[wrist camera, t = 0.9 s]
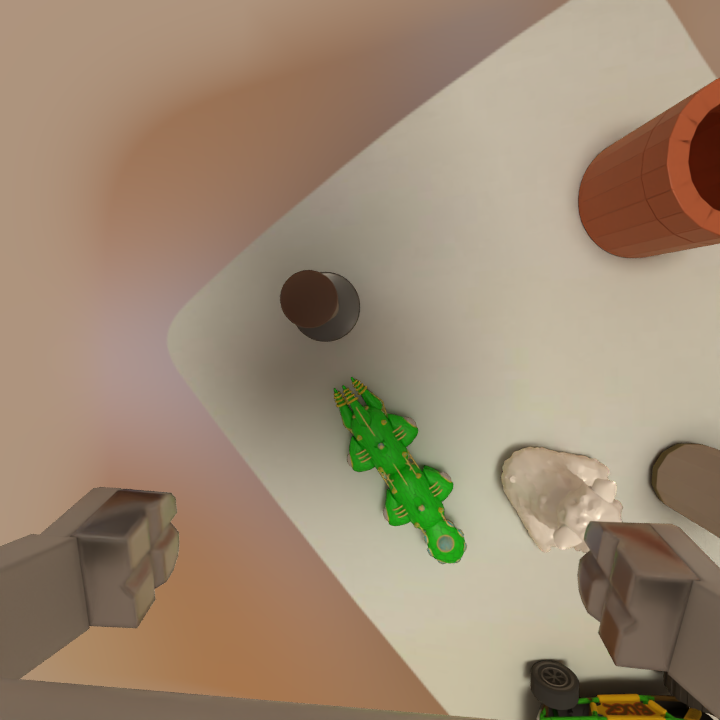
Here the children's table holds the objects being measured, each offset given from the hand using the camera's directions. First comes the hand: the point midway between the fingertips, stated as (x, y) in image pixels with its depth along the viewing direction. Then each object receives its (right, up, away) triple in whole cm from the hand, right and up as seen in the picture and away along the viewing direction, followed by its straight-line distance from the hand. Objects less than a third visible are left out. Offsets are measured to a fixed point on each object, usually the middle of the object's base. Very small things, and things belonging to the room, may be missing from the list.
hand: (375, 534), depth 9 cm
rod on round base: (-3, +8, +31) cm, 32 cm away
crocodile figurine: (+3, -6, +33) cm, 33 cm away
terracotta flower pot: (+23, +17, +31) cm, 43 cm away
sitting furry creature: (+16, -8, +33) cm, 38 cm away
